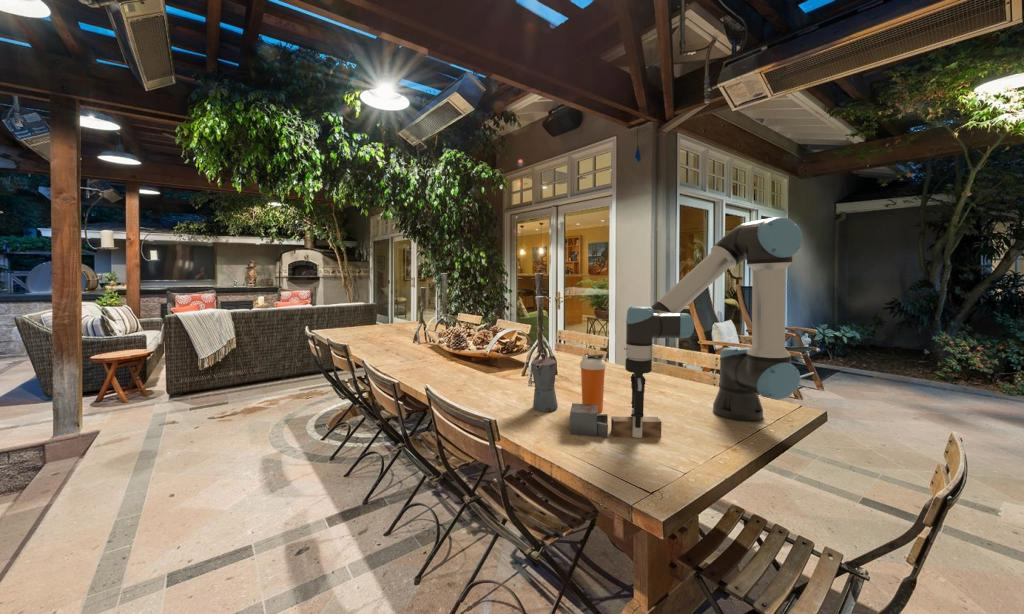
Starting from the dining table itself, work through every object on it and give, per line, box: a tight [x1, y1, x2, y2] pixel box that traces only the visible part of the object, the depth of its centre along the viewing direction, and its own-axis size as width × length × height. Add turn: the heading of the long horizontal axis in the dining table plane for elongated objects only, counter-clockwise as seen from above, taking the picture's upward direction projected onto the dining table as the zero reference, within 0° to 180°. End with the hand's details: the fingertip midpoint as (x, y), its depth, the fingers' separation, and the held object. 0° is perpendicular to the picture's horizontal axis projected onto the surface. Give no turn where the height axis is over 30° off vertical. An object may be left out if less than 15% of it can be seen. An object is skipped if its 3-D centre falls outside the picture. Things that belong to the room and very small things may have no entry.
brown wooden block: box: [610, 416, 662, 438], centre depth 123 cm, size 14×4×5 cm, turn 87°
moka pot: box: [531, 354, 559, 413], centre depth 147 cm, size 10×15×20 cm, turn 158°
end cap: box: [569, 402, 609, 438], centre depth 126 cm, size 11×10×7 cm
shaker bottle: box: [579, 353, 607, 414], centre depth 145 cm, size 9×9×20 cm
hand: (636, 433), depth 123 cm, fingers open, 5 cm apart
